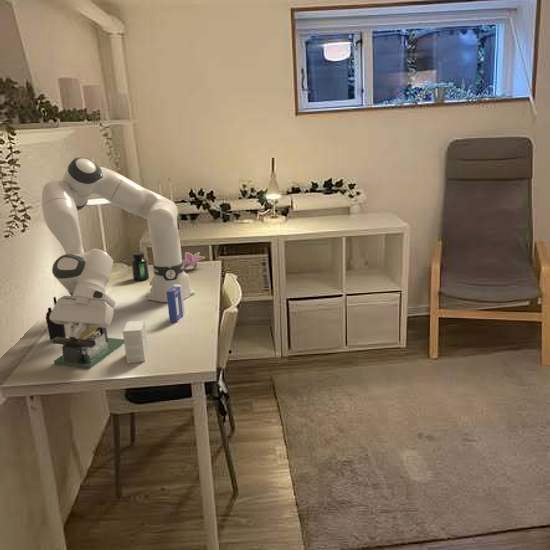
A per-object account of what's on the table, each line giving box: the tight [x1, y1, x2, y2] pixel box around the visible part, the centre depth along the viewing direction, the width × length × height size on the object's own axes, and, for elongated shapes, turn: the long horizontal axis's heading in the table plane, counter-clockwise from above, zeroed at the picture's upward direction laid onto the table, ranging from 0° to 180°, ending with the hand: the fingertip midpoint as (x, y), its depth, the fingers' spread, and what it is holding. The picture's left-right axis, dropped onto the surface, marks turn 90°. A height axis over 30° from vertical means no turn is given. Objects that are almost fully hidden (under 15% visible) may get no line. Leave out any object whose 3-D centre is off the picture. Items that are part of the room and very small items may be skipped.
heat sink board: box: [53, 326, 125, 369], centre depth 178 cm, size 19×13×8 cm
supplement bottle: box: [130, 251, 150, 282], centre depth 252 cm, size 7×7×12 cm
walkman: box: [167, 285, 186, 323], centre depth 204 cm, size 8×3×12 cm, turn 167°
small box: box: [122, 320, 149, 364], centre depth 174 cm, size 8×6×10 cm
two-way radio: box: [45, 296, 67, 340], centre depth 189 cm, size 6×4×15 cm
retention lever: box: [52, 326, 100, 348], centre depth 176 cm, size 1×14×12 cm
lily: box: [182, 251, 206, 272], centre depth 262 cm, size 12×12×10 cm
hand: (73, 338), depth 171 cm, fingers closed, pressing on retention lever
